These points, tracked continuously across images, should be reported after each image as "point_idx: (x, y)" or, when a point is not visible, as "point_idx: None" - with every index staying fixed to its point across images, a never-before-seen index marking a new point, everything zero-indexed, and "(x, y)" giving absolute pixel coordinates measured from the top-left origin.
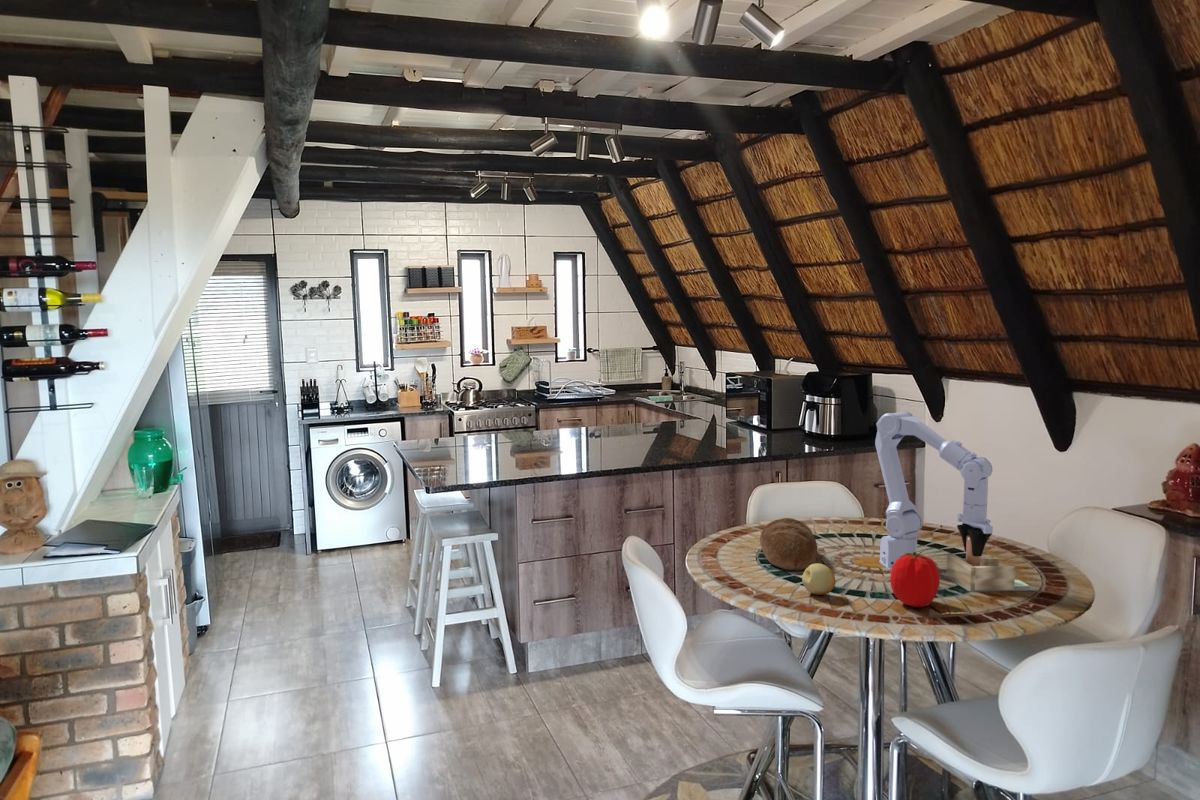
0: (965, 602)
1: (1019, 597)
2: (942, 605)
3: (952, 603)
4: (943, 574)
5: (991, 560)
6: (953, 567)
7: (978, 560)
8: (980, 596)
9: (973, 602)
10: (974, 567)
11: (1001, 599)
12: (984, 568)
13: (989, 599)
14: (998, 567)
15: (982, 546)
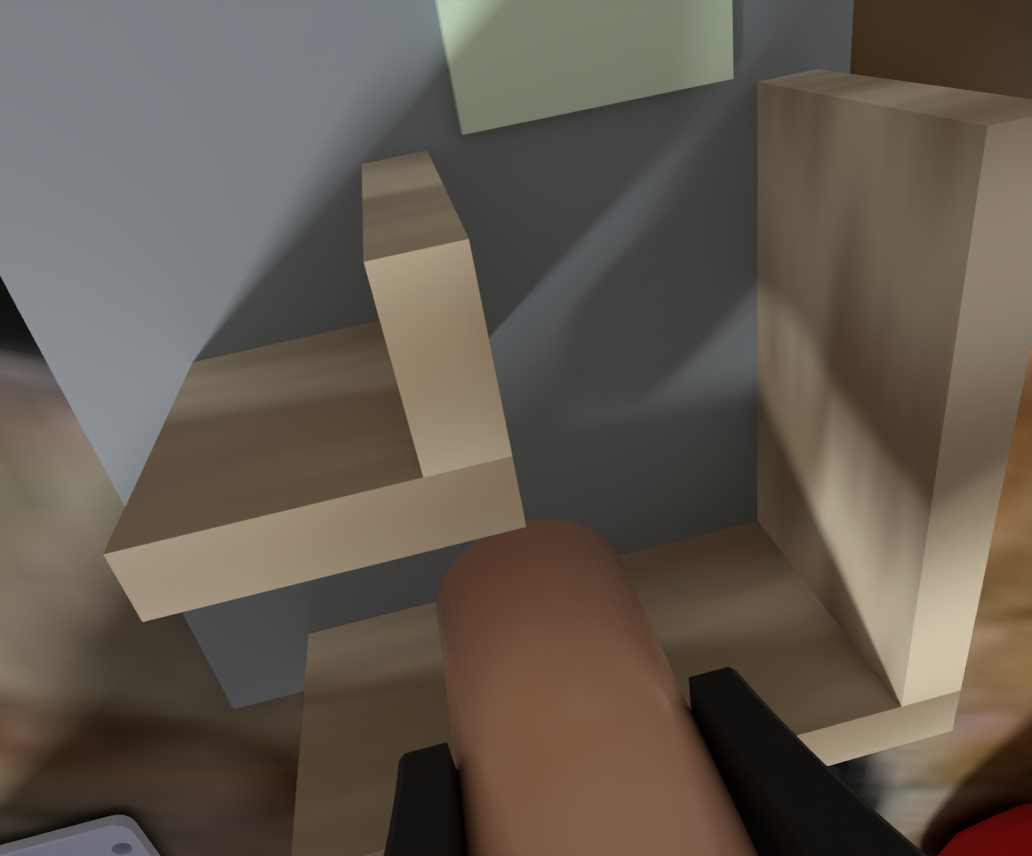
0: (1008, 600)
1: (1003, 84)
2: (1024, 724)
3: (1005, 673)
4: (289, 686)
5: (498, 390)
6: None
7: (652, 628)
8: None
9: (1023, 551)
10: (949, 700)
11: None
12: (968, 591)
13: None
14: (1013, 419)
15: (857, 842)
